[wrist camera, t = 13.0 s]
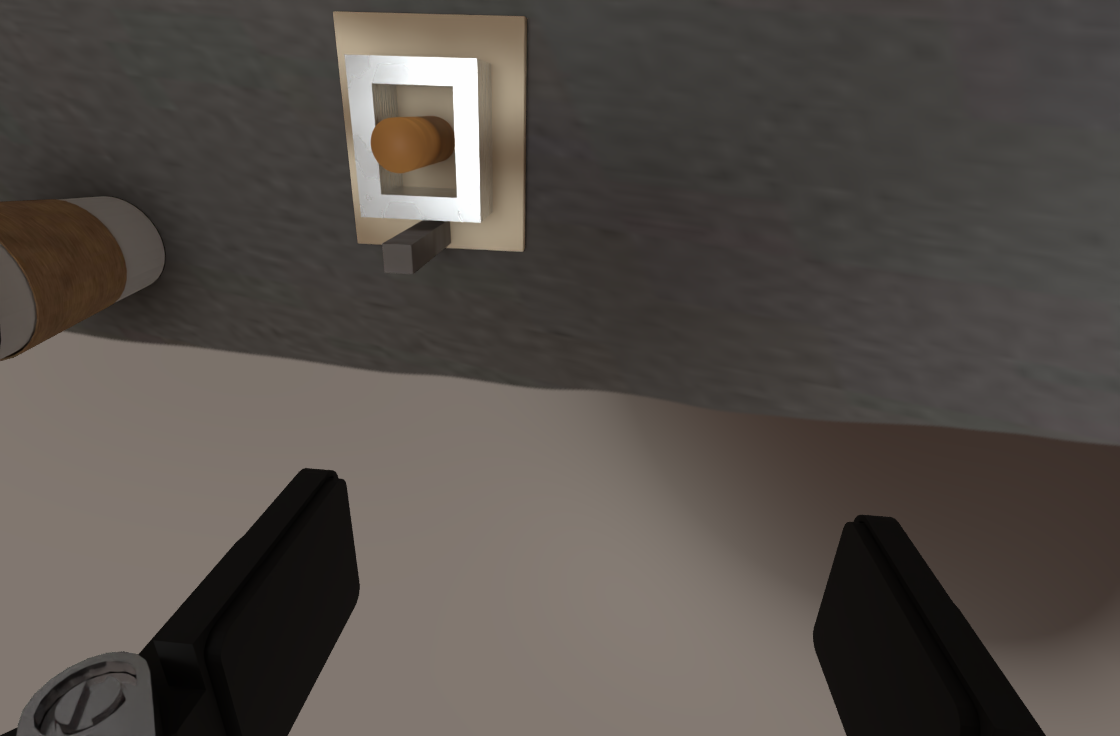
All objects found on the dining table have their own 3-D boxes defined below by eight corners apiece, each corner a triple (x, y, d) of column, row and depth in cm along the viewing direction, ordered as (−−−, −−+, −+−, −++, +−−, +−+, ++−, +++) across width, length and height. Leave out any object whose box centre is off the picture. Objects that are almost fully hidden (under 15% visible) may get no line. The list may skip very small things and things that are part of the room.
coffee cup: (111, 146, 35) (-212, 170, 21) (211, 266, 37) (-20, 356, 24) (28, 220, 37) (-312, 285, 24) (128, 328, 40) (-127, 443, 26)
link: (372, 60, 31) (344, 54, 28) (491, 63, 31) (476, 58, 27) (384, 206, 34) (361, 216, 31) (493, 212, 34) (480, 222, 31)
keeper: (339, 13, 31) (255, -16, 24) (526, 18, 30) (499, -10, 23) (363, 240, 36) (299, 274, 29) (524, 248, 35) (501, 285, 28)
